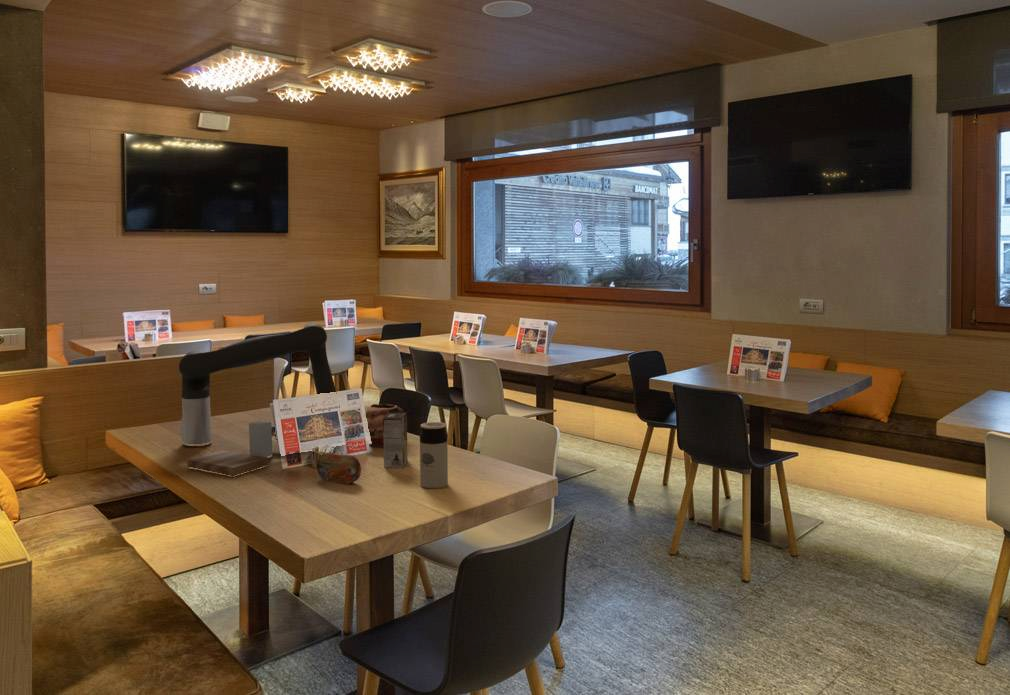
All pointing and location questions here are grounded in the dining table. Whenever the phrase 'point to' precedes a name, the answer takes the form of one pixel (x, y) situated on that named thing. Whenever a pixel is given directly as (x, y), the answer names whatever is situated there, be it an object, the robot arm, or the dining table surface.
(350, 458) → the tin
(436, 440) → the travel mug
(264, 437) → the slate block
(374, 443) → the decorative planter
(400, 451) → the coffee box
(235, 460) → the walnut plinth
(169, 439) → the dining table surface
